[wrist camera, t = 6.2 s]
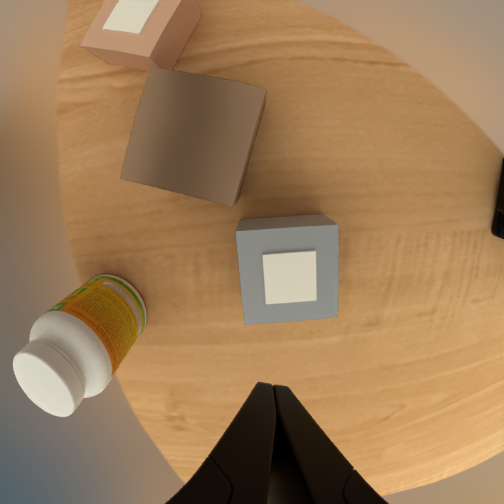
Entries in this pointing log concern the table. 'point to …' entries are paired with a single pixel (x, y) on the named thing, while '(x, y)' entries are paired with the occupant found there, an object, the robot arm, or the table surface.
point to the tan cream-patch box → (142, 32)
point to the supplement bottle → (80, 344)
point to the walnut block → (194, 135)
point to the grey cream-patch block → (288, 268)
